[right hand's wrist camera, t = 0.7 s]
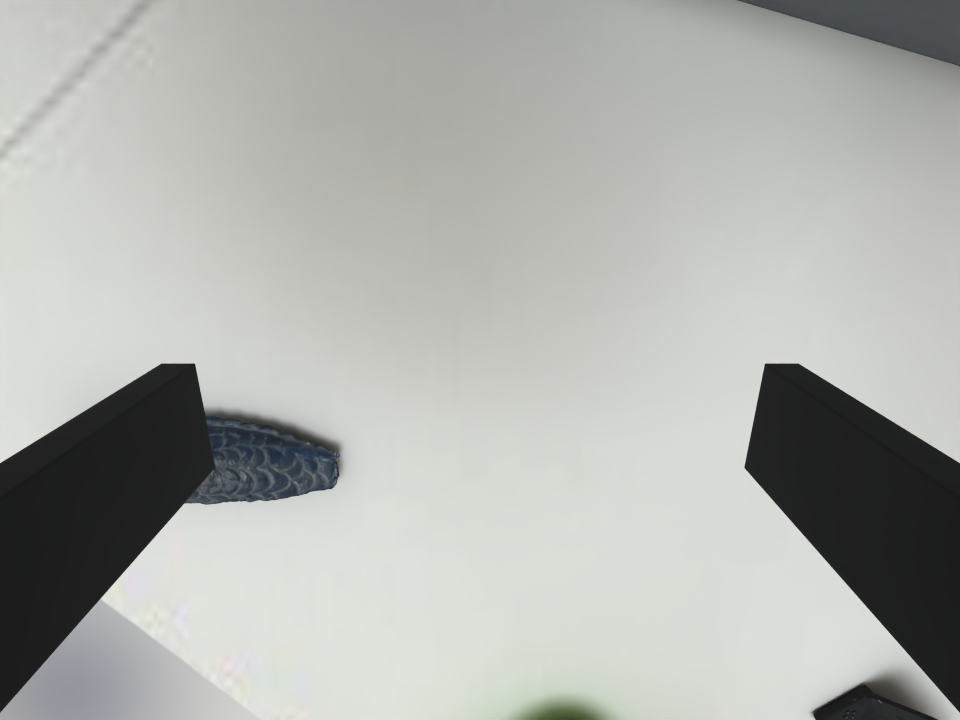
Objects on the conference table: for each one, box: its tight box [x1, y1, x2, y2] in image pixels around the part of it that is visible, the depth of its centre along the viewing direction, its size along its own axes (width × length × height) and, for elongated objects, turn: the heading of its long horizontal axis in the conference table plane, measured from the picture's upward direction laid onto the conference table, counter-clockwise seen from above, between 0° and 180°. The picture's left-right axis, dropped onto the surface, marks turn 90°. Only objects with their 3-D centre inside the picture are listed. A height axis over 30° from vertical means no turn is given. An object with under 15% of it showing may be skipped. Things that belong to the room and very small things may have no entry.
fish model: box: [185, 416, 339, 505], centre depth 40 cm, size 7×21×5 cm, turn 85°
